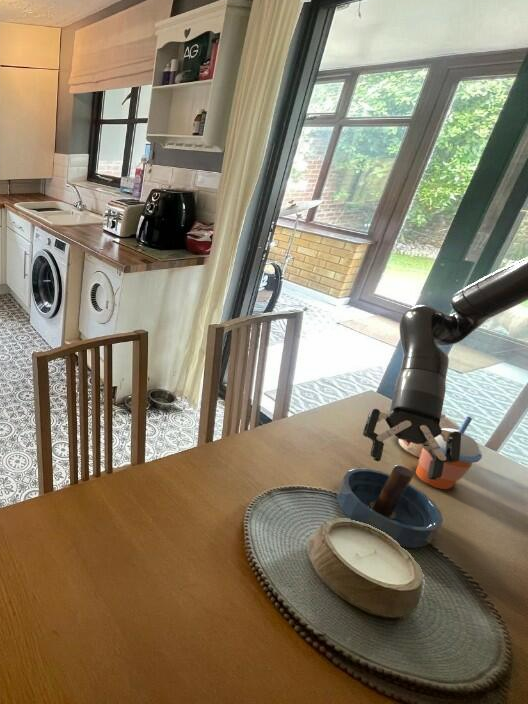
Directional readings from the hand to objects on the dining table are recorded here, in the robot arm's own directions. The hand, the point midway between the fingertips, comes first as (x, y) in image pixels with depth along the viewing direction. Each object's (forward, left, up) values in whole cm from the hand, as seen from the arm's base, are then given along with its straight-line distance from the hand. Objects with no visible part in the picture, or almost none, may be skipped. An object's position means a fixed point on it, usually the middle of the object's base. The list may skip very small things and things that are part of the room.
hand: (403, 469), depth 82 cm
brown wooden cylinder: (0, +1, -12) cm, 12 cm away
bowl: (0, +1, -12) cm, 12 cm away
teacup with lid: (-10, -29, -12) cm, 33 cm away
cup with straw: (-11, -19, -12) cm, 25 cm away
